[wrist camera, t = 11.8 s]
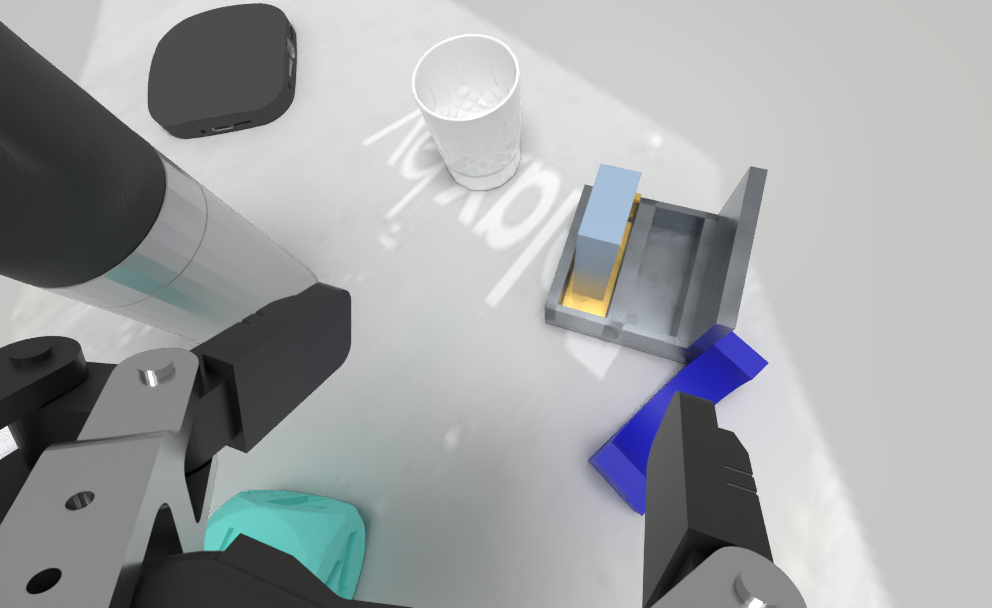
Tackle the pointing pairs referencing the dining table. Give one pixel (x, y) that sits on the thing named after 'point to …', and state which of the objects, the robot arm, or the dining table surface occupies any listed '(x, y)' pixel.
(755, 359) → the blue piece
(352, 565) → the decorative dice
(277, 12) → the media streaming box
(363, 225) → the dining table surface
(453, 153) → the white cup
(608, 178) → the light blue rectangular block
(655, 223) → the grey compartment holder
